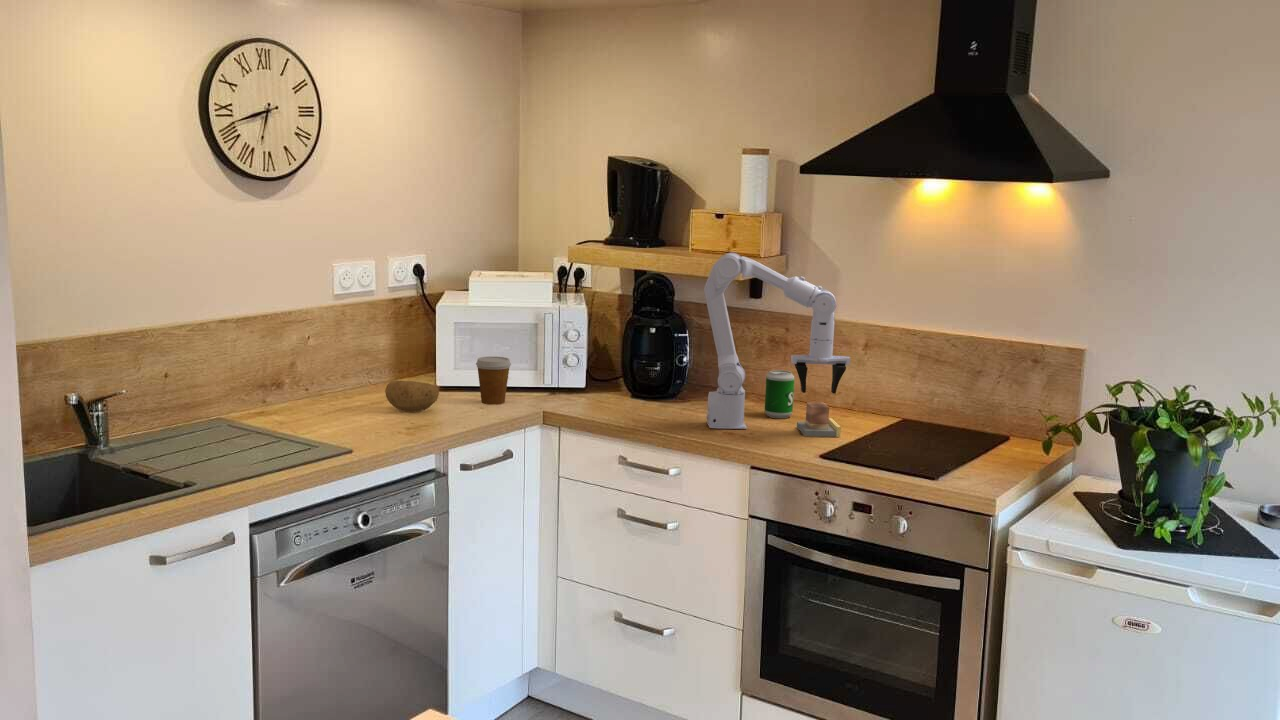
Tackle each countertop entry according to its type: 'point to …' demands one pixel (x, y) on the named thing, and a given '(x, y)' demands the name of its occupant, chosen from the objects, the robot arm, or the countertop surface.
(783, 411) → the soda can
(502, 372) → the disposable coffee cup
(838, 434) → the dock
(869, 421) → the countertop surface
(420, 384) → the potato
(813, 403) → the brown rectangular block
